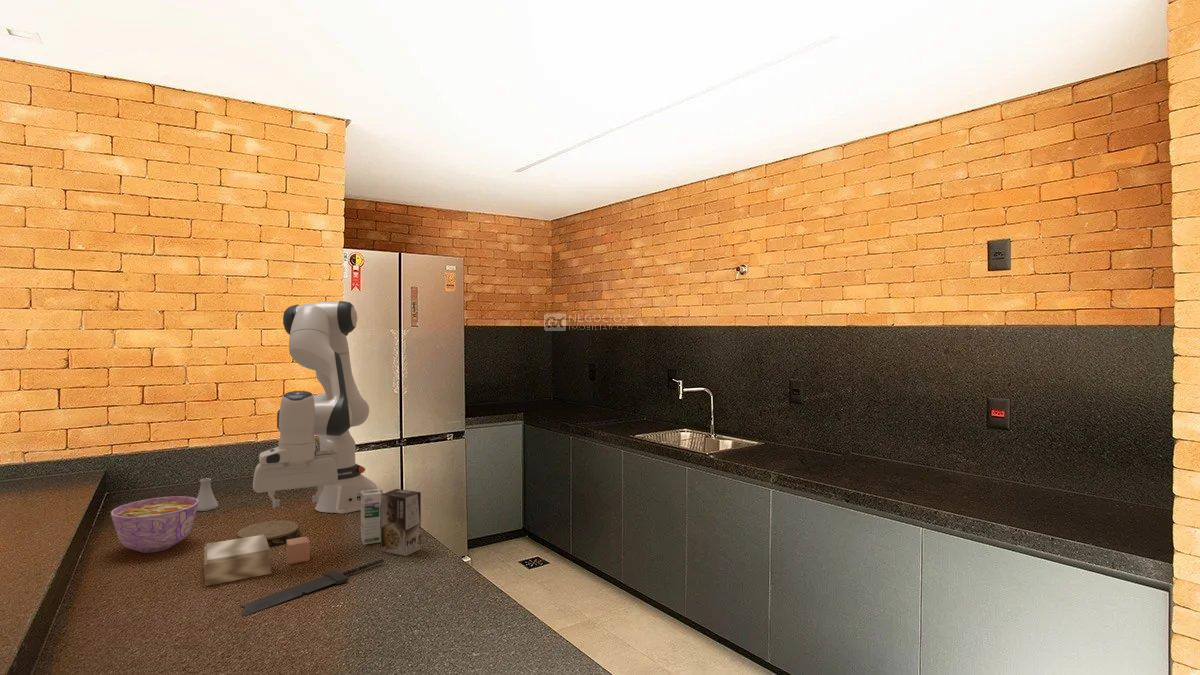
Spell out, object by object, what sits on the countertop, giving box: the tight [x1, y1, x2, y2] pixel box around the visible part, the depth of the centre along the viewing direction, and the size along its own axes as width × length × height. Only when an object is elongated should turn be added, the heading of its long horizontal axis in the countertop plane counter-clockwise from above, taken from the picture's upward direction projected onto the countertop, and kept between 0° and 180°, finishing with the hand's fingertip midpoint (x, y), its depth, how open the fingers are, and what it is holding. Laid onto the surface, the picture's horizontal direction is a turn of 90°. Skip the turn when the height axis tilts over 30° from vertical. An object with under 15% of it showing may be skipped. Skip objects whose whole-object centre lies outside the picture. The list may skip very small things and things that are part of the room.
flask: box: [196, 477, 220, 512], centre depth 208 cm, size 7×7×10 cm
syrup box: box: [360, 488, 384, 546], centre depth 179 cm, size 6×6×14 cm
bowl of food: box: [110, 495, 199, 554], centre depth 172 cm, size 20×20×12 cm
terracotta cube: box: [285, 536, 311, 565], centre depth 165 cm, size 5×5×5 cm
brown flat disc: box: [236, 519, 300, 548], centre depth 180 cm, size 16×16×3 cm
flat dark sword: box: [240, 558, 385, 617], centre depth 148 cm, size 7×35×2 cm, turn 141°
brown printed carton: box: [381, 488, 422, 557], centre depth 172 cm, size 9×6×16 cm
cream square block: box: [203, 535, 272, 587], centre depth 157 cm, size 14×14×6 cm
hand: (296, 504), depth 164 cm, fingers open, 8 cm apart
